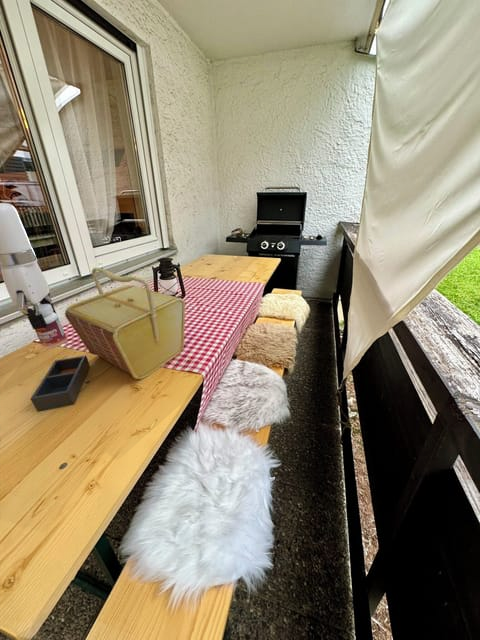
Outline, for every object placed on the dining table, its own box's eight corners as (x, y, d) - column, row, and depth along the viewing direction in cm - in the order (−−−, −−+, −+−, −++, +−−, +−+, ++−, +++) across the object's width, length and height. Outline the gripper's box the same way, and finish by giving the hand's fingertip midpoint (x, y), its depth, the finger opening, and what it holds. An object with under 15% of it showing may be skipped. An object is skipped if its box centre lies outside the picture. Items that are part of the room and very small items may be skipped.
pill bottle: (42, 351, 72) (24, 315, 66) (43, 341, 76) (26, 306, 71) (67, 344, 74) (52, 308, 69) (67, 334, 79) (53, 301, 74)
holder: (37, 411, 70) (30, 399, 67) (60, 371, 85) (55, 360, 82) (74, 404, 71) (68, 392, 69) (90, 366, 86) (85, 355, 84)
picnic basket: (194, 348, 93) (182, 267, 79) (133, 392, 75) (103, 296, 60) (143, 328, 108) (125, 256, 94) (81, 360, 89) (47, 277, 75)
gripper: (17, 251, 70) (43, 311, 79) (-24, 270, 55) (14, 340, 64) (47, 249, 72) (70, 307, 80) (16, 266, 57) (48, 335, 65)
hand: (45, 321), depth 72 cm, fingers closed on pill bottle, 6 cm apart
